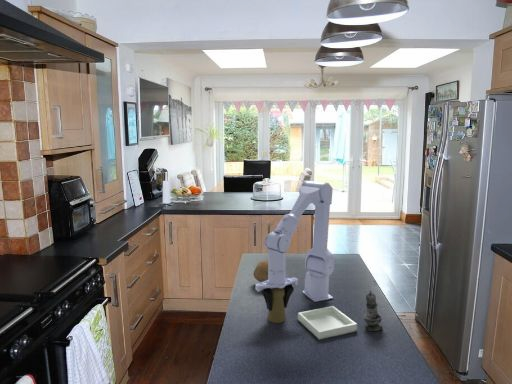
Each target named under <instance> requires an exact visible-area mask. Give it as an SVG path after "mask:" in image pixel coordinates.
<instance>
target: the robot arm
mask: <svg viewBox="0 0 512 384" xmlns="http://www.w3.org/2000/svg"><path fill="white" fill-rule="evenodd" d="M333 191H334V190H333V187H332V186H331V184H330V183H329V182H320V181H311V180H303V182H302V183H301V185H300V187H299V190H298V192H299V195H298V197H297V199H296V201H295V202H294V204H293V206H292V208H291V210H290V212H289V213H286V214H283V216H282V218H281V220H280V221H279V222H278V224H277V225H276V227H275V229H274V230H273V231H271V232H270V233H268V234H267V235H266V237H265V241H263V243H264V247H265V248H266V253H267V255H268V258H267V259H268V260H267V261H268V280H267V281H264V282H258V283H255V286H254V287H255V290H256V292H261V293H262V296H263V298H264V301H265V304H266V309H267V310H268V312H269V311H271V309H272V296H273V293H272V292H271V290H270V289H271V288H284V290H285V295H284V297H283V300H284V308H285V309H286V308H287V307H288V304H289V300H290V297H291V296H292V294H293V292H294V289H295V288H294V286H299V279H298V278H296V277H287V251H288V250H289V249H290V246H291V241H292V236H293V234H294V233H295V231H296V230H297V228H298V227H299V225H300V221H299V219H300V217H301V216H302V215H303V213H304V212H305V211H306V210H307V208H308V207H309V206H310V204H312V205H314V220H313V222H314V223H313V234H312V235H313V236H312V237H313V238H312V239H313V240H312V248H311V249H308V250H307V252H306V256H305V259H304V268H305V269H306V271H307V272H305V275H304V290H302V294H305V296H307V298H309V299H310V300H312V301H313V302H314V303H315V302H320V301H327V300H331V299H334V296H332V295H331V294H329V288H330V287H329V285H330V284H329V283H330V281H329V280H330V276H331V275H332V274H333V272H334V270H335V262H334V261H335V260H334V254H333V253H332V252H331V251H330V250H329V249H328V239H329V226H330V225H329V223H330V209H331V205H332V203H333ZM293 285H294V286H293Z"/></svg>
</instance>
